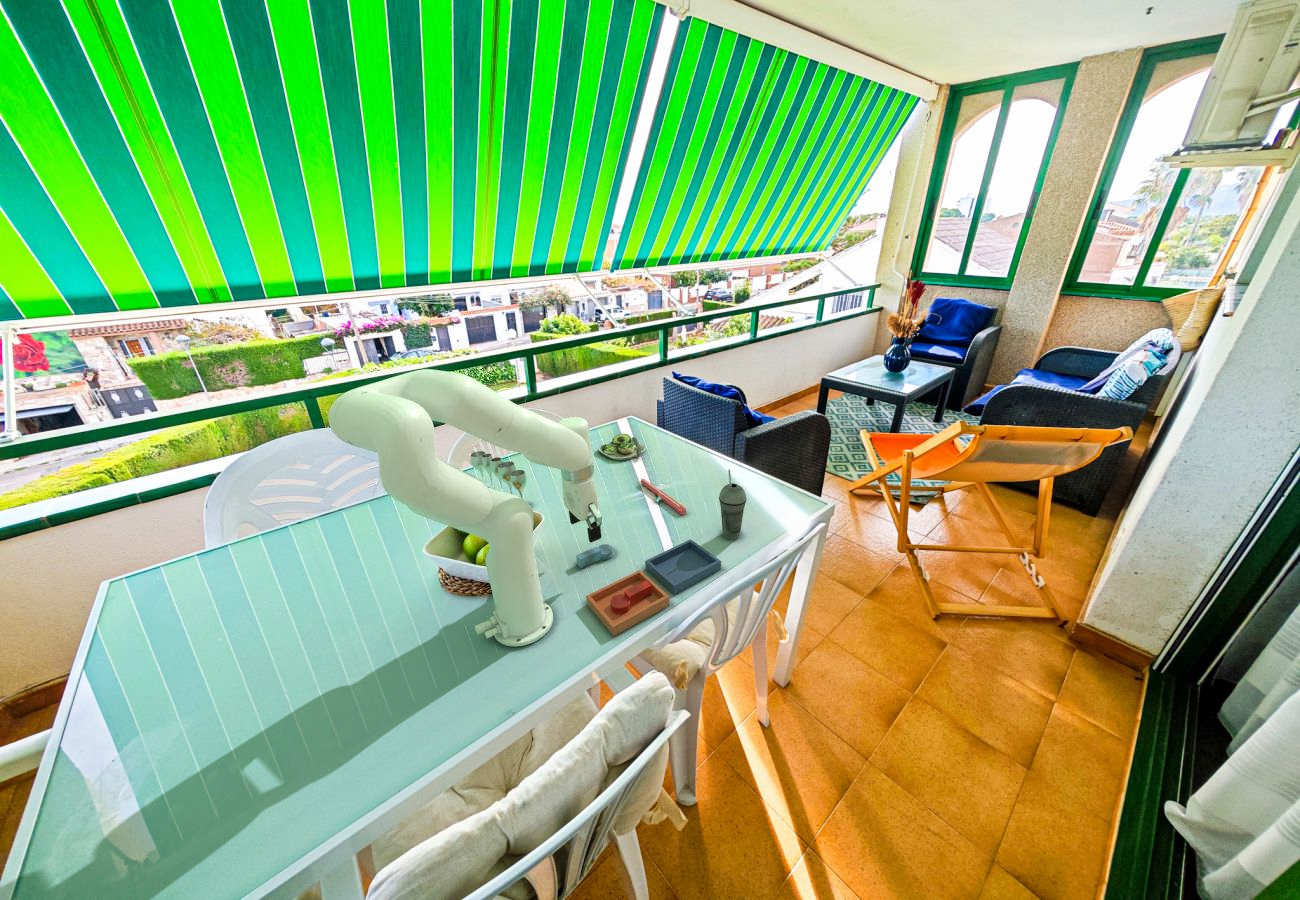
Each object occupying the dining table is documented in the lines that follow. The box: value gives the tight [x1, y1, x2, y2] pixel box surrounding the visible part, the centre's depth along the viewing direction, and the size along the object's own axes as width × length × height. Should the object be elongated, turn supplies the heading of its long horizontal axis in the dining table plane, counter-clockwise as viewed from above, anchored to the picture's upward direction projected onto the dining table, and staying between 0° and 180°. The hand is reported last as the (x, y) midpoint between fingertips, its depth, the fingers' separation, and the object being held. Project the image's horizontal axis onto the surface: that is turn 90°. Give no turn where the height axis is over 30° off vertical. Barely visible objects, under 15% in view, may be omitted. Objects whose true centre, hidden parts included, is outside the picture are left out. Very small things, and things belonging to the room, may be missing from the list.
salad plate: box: [597, 433, 646, 461], centre depth 177 cm, size 19×18×5 cm
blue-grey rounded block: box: [575, 543, 615, 569], centre depth 118 cm, size 10×4×3 cm, turn 126°
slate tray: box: [644, 539, 722, 595], centre depth 113 cm, size 15×12×2 cm
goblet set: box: [469, 450, 532, 507], centre depth 148 cm, size 28×6×13 cm, turn 49°
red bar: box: [640, 477, 687, 516], centre depth 145 cm, size 24×2×5 cm
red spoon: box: [610, 581, 652, 614], centre depth 102 cm, size 10×4×3 cm, turn 126°
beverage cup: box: [718, 468, 748, 541], centre depth 121 cm, size 7×7×20 cm
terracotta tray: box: [585, 569, 670, 637], centre depth 102 cm, size 15×12×2 cm
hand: (585, 530), depth 114 cm, fingers open, 9 cm apart
